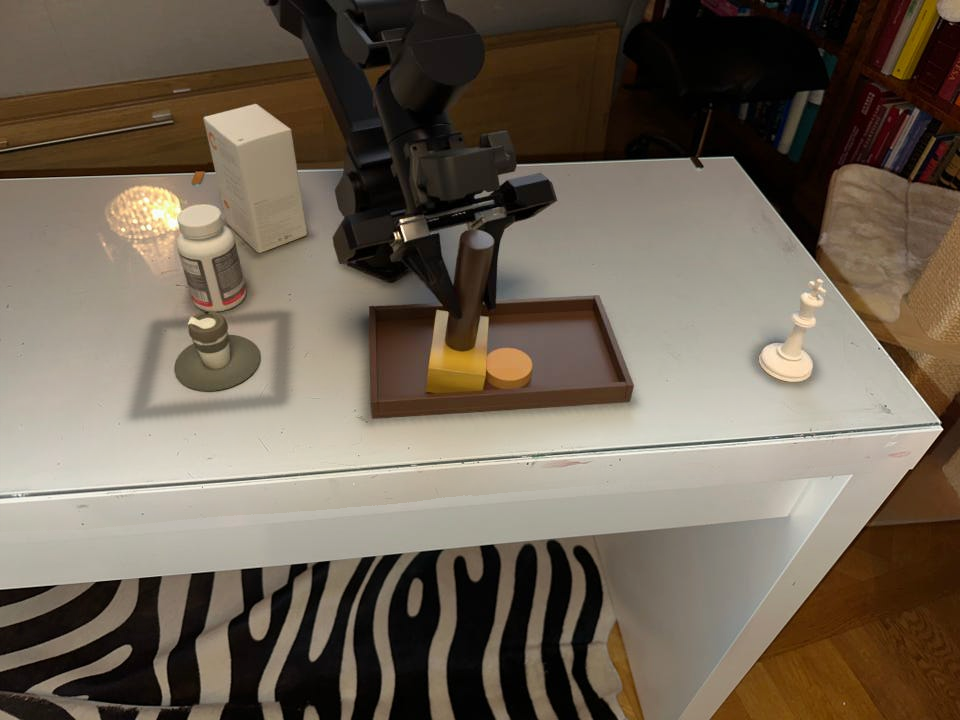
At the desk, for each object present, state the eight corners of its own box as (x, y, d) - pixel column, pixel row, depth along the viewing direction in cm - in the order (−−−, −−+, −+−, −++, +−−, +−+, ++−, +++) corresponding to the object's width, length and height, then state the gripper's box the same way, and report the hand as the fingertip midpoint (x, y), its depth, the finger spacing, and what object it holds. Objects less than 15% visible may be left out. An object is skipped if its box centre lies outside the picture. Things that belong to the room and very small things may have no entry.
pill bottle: (243, 277, 80) (225, 196, 73) (250, 307, 76) (231, 225, 70) (190, 287, 78) (167, 204, 72) (194, 318, 75) (170, 234, 68)
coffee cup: (280, 400, 67) (272, 359, 63) (139, 413, 65) (122, 372, 62) (284, 315, 75) (276, 275, 72) (159, 325, 74) (145, 284, 70)
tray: (372, 418, 65) (370, 401, 64) (370, 322, 75) (368, 305, 74) (630, 402, 68) (634, 385, 67) (596, 310, 78) (599, 294, 76)
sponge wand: (433, 333, 72) (450, 208, 63) (484, 340, 73) (508, 217, 63) (424, 392, 66) (442, 263, 57) (480, 399, 67) (507, 272, 57)
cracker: (474, 377, 69) (475, 367, 68) (499, 351, 72) (500, 341, 71) (516, 396, 67) (517, 387, 66) (539, 368, 70) (541, 359, 69)
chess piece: (784, 388, 70) (821, 304, 63) (747, 356, 73) (778, 272, 66) (822, 372, 72) (862, 289, 65) (785, 342, 75) (819, 259, 68)
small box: (308, 236, 86) (293, 128, 77) (258, 255, 83) (235, 145, 74) (274, 206, 91) (256, 101, 82) (225, 223, 87) (200, 116, 79)
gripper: (329, 118, 53) (395, 332, 53) (557, 79, 59) (615, 269, 59) (309, 171, 63) (363, 349, 63) (504, 133, 70) (554, 294, 70)
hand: (475, 314), depth 64 cm, fingers closed on sponge wand, 3 cm apart
